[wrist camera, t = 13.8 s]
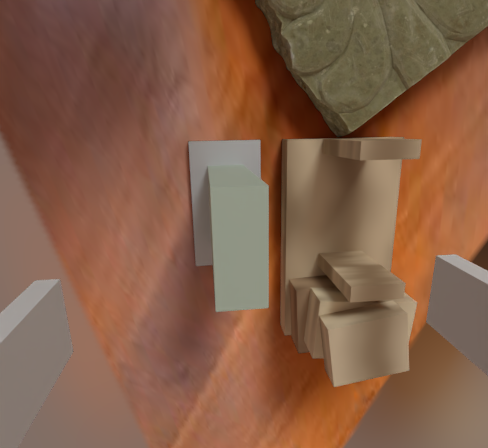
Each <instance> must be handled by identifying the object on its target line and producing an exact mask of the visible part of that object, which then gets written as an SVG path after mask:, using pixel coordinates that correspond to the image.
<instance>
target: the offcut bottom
mask: <svg viewBox="0 0 488 448" xmlns="http://www.w3.org/2000/svg"><path fill="white" fill-rule="evenodd" d="M289 284H290V310H291V336H292V339H293V342H294V344H295V346H296V349H297V351H298V353H306V352H309V350H308V348H307V346H306V344H305V342H304V335H305V327H306V319H307V311H308V303H309V295H310V287H312V288H337V287H336V286H335V284H334V283H333V282H332V281H331V280H330V279H329V277H328V276H327V275H321V276H312V277H304V278H295V279H289Z"/></svg>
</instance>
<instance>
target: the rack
mask: <svg viewBox="0 0 488 448" xmlns="http://www.w3.org/2000/svg"><path fill="white" fill-rule="evenodd" d="M421 141H422V140H420V139H404V137H368V138H322V139H282V194H281V295H280V325H281V327H282V330H283V332H284V335H285V336H286V335H291V310H290V284H289V279H295V278H304V277H312V276H321V275H327V276H328V277H329V279H330V280H331V281H332V282H333V283H334V284H335V286H336V287H337V288H338V289H339V290H340V291H341V293H342V294H343V295H344V296H345V297H346V298H347V300H348V301H349V302H350V303H352V302H365V301H379V300H392V299H404V291H405V283H404V282H403V281H402V280H400V279H399V278H398V277H396V276H395V275H394V274H392V273H391V264H392V254H393V244H394V234H395V224H396V214H397V204H398V194H399V184H400V174H401V164H402V159H420V150H421Z"/></svg>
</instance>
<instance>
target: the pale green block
mask: <svg viewBox="0 0 488 448" xmlns="http://www.w3.org/2000/svg"><path fill="white" fill-rule="evenodd" d="M208 185H209V207H210V228H211V248H212V263H213V278H214V293H215V308H216V312H221V311H234V310H248V309H262V308H269V186H268V185H267V184H266V183H265V182H263V181H262V180H261V179H260V178H258V177H257V176H256V175H255V174H254V173H252V172H251V171H250V170H249V169H247V168H246V167H245V166H244V165H220V166H208Z"/></svg>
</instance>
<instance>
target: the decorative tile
mask: <svg viewBox="0 0 488 448" xmlns="http://www.w3.org/2000/svg"><path fill="white" fill-rule="evenodd" d="M255 4H256V5H257V7H258V8H259V9H261V10H262V12H263V14H264V15H265V17H266V19H267V20H268V23H269V26H270V30H271V37H272V44H273V47H274V49H275V50H276V51H277V52H278V53H279V54H280V55H281V56H282V57H283V59H284V61H285V63H286V68H287V70H289V71H290V72H291V74H292V76H293V77H294V79H295V81H296V82H297V84H298V85H299V86H300V87H301V88H302V89H303V90H304V91H305V92H306V93H307V94H308V96H309V98H310V100H311V101H312V102H313V103H314V105H315V107H316V108H317V110H318V111H320V112H321V114H322V116H323V118H324V120H325V122H326V124H327V125H328V126H329V128H330V130H331V131H332V132H333V133H334V134H335V135H336V136H337V137H342V136H345V135H348V134H350V133H351V132H353V131H354V130H356V129H357V128H359V127H360V126H361V125H363V124H364V123H365V122H366V121H368V120H369V119H370V118H372V117H373V116H374V115H375V114H377V113H378V112H379V111H381V110H382V109H383V108H384V107H386V106H387V105H388V104H390V103H391V102H392V101H393V100H394V99H395V98H397V97H398V96H399V95H401V94H402V93H403V92H405V91H406V90H407V89H409V88H410V87H411V86H413V85H414V84H415V83H417V82H418V81H420V80H421V79H422V78H423V77H425V76H426V75H427V74H429V73H430V72H431V71H432V70H434V69H435V68H437V67H438V66H439V65H440V64H442V63H443V62H444V61H445V60H447V59H448V58H449V57H450V56H451V55H452V54H453V53H454V52H455V51H457V50H458V49H459V48H460V47H461V46H463V45H464V44H465V43H466V42H467V41H469V40H470V39H472V38H473V37H475V36H476V35H477V34H478V33H480V32H481V31H482V30H484V29H485V28H486V27H487V26H488V0H255Z"/></svg>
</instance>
